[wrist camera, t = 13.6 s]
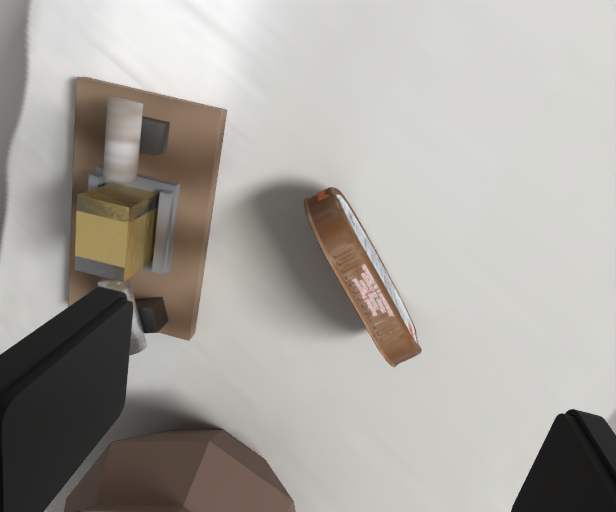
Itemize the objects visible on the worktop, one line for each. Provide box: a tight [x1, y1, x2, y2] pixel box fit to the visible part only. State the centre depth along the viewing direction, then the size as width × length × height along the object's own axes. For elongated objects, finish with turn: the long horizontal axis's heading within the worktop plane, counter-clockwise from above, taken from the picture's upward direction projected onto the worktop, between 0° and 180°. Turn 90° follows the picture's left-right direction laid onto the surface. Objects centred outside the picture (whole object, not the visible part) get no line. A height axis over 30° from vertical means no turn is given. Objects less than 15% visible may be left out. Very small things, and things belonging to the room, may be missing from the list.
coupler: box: [75, 183, 159, 282], centre depth 38 cm, size 6×4×5 cm, turn 169°
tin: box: [304, 187, 421, 367], centre depth 37 cm, size 15×3×8 cm, turn 30°
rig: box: [68, 77, 227, 340], centre depth 40 cm, size 21×12×6 cm, turn 168°
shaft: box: [98, 278, 169, 355], centre depth 41 cm, size 6×4×5 cm, turn 8°
